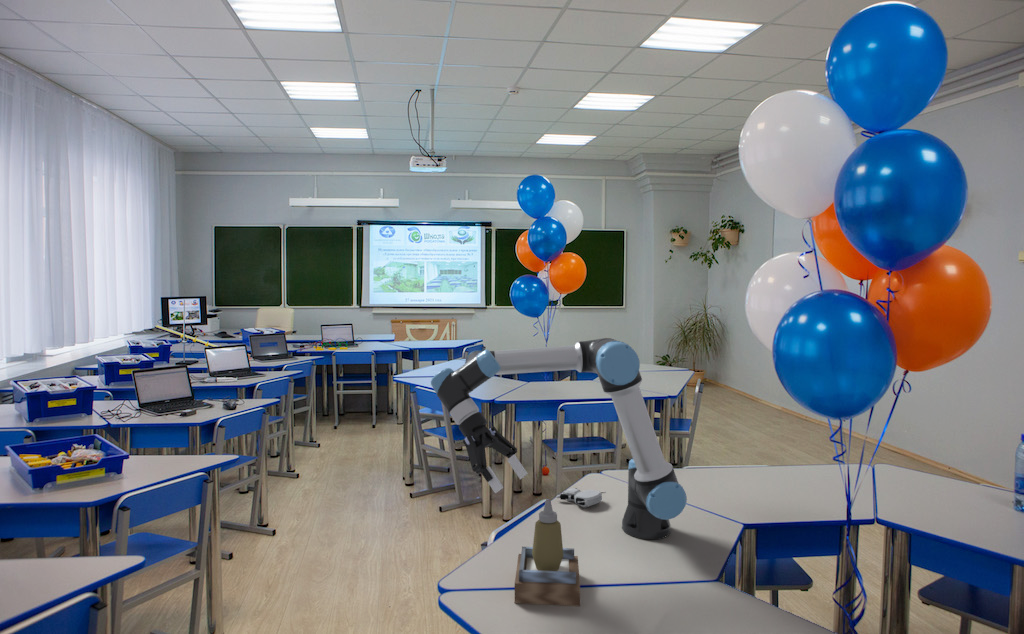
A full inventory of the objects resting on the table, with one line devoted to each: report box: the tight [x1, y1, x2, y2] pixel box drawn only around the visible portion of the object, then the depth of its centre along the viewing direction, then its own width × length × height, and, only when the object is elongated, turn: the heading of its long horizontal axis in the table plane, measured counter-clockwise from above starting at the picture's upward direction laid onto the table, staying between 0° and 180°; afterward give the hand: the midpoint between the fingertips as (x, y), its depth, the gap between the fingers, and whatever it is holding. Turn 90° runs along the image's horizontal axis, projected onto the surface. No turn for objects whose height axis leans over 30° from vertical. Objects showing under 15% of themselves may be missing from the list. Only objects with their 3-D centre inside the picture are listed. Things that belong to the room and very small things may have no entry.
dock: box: [514, 546, 581, 607], centre depth 153 cm, size 16×16×8 cm
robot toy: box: [555, 487, 607, 509], centre depth 213 cm, size 12×4×15 cm
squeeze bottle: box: [532, 498, 564, 571], centre depth 153 cm, size 8×8×18 cm
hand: (512, 483), depth 160 cm, fingers open, 13 cm apart
